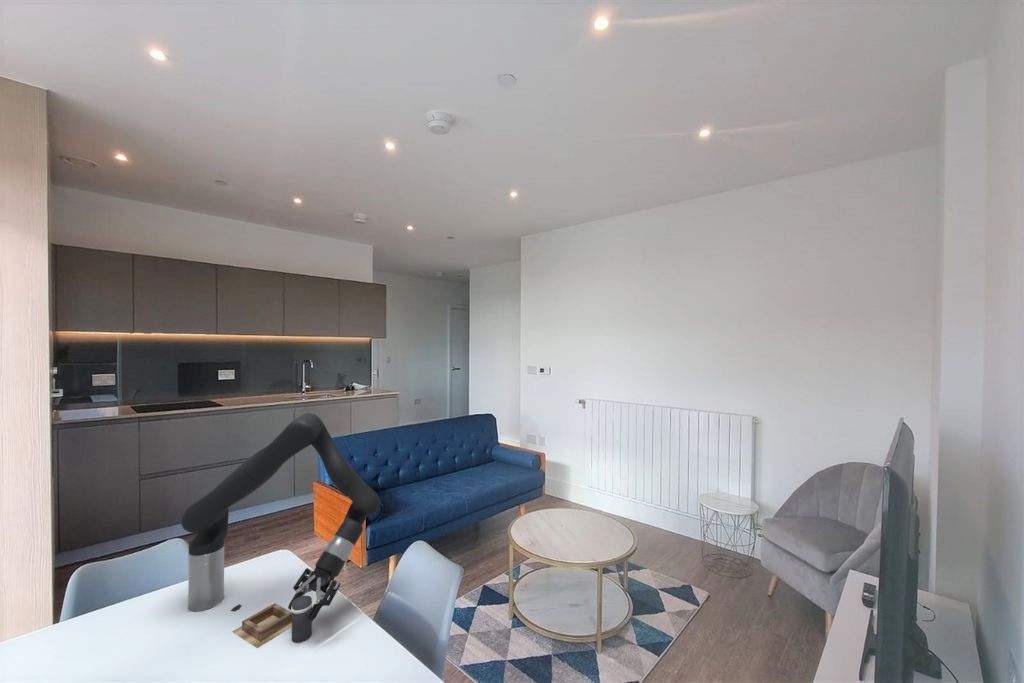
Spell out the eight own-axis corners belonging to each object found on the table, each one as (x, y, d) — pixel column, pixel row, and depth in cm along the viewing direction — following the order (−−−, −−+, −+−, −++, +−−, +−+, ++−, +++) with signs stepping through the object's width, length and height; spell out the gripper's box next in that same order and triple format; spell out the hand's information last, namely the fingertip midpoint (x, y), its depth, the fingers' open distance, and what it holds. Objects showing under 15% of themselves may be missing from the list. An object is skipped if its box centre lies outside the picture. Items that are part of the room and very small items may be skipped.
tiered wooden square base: (231, 633, 117) (232, 622, 117) (276, 608, 128) (277, 598, 128) (257, 650, 110) (257, 638, 111) (302, 622, 122) (302, 611, 122)
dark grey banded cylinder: (287, 639, 114) (287, 603, 114) (304, 627, 119) (304, 593, 119) (298, 646, 111) (298, 609, 111) (316, 634, 116) (316, 598, 116)
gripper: (312, 544, 125) (275, 602, 115) (343, 556, 118) (306, 619, 108) (328, 554, 130) (293, 610, 120) (358, 566, 123) (324, 627, 113)
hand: (299, 614), depth 114 cm, fingers open, 8 cm apart
